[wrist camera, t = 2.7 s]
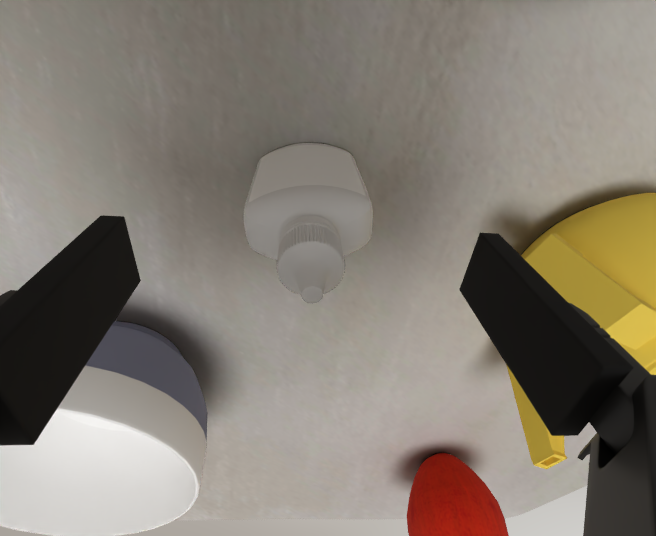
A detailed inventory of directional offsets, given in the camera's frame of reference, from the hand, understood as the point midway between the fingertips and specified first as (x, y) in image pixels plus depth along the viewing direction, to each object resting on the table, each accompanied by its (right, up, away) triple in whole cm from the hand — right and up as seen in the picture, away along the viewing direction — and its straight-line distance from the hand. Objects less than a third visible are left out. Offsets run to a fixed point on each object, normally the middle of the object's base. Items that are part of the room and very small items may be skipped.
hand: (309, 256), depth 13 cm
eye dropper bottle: (-1, +5, +8) cm, 10 cm away
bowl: (-16, -8, +16) cm, 24 cm away
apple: (+13, -23, +28) cm, 39 cm away
